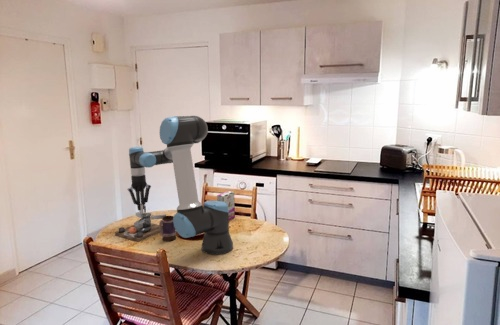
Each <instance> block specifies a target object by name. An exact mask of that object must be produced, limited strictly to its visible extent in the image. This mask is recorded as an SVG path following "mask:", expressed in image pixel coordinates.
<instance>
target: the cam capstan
mask: <svg viewBox="0 0 500 325" xmlns="http://www.w3.org/2000/svg"><path fill="white" fill-rule="evenodd" d="M165 216H167V214H166V213H165V214H163V213H162V214H155V215H153V214H152V213H151V212H144V213H143V214H142V213H140V212H139V211H137V212H135V217H137V218H140V219H138V220H136V221H134V222H133V225H134V227H135V228H136V229H137V232H143V233H146V232H148V231H150V230H151V223H152V221H153V220H162V218H163V217H165ZM142 223H143V224H142ZM140 224H141V225H140ZM137 232H136V233H137Z"/></svg>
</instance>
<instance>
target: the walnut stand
mask: <svg viewBox="0 0 500 325" xmlns="http://www.w3.org/2000/svg"><path fill="white" fill-rule="evenodd" d="M142 224H143V223H142ZM140 225H141V224H140ZM131 227H134V224H133V225H131V226H128V227H126V228H125V227H124V226H123V227H122V226H121V227H119V228H118V231H115V232H114V236H116V237H120V238H124V239H128V240H130V241H134V242H136V243H137V242H138V243H139V242H142V241H144V240H146V239H148V238H151V237H153V236H155V235H157V234H160V226H159V224H157V223H152V222H151V230H150V231H148V232H146V233H143V232H137V233H135V234H130V233H129V229H130V228H131Z"/></svg>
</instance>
